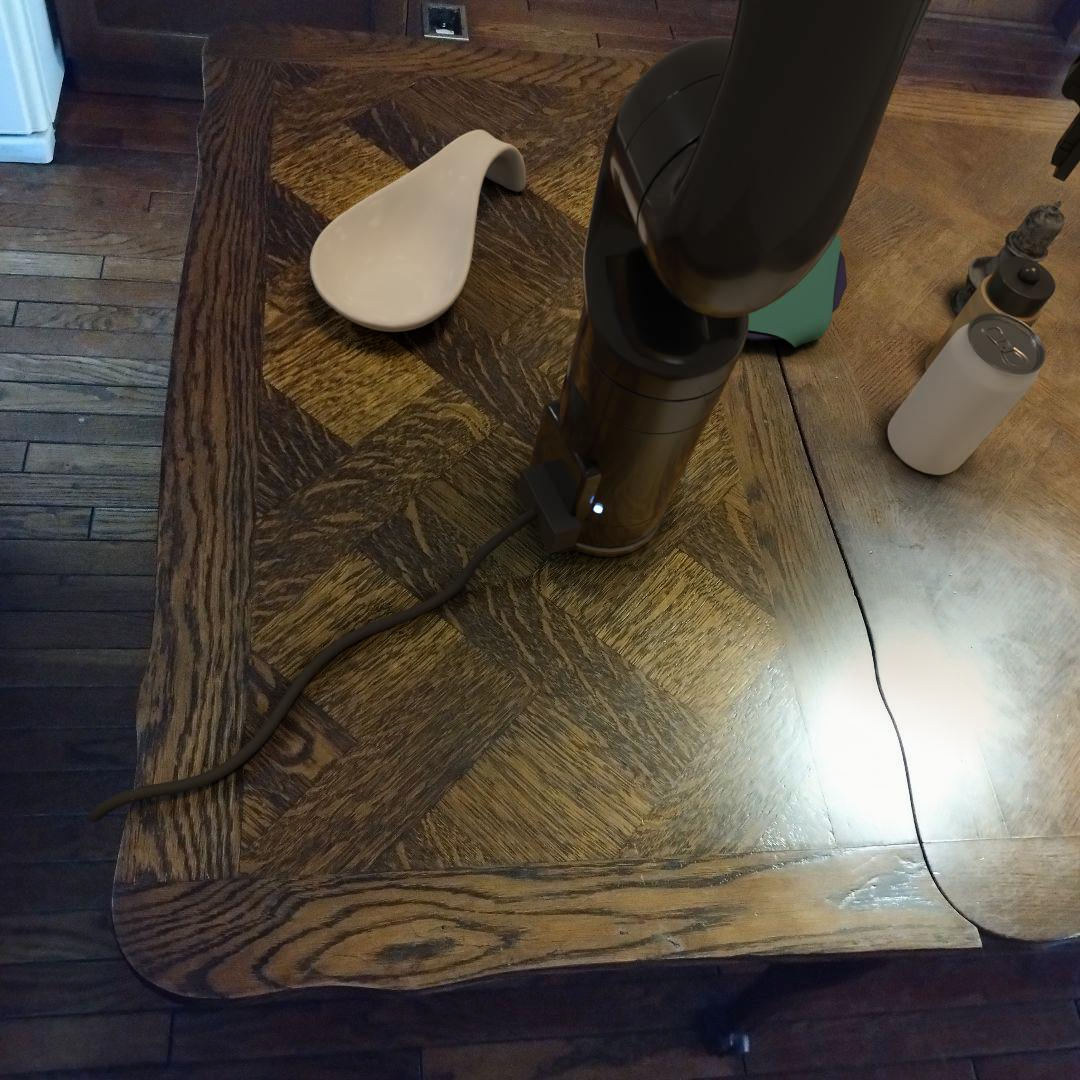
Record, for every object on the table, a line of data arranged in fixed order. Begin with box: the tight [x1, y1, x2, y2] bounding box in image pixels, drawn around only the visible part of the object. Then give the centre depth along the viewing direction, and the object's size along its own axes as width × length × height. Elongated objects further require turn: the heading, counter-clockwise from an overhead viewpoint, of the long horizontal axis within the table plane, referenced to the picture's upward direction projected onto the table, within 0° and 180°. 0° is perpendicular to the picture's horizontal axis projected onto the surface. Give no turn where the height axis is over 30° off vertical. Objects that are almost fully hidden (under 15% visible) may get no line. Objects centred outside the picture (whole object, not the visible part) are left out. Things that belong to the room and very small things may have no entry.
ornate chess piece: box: [950, 200, 1066, 317], centre depth 82 cm, size 6×6×12 cm
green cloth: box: [746, 235, 848, 348], centre depth 87 cm, size 20×30×2 cm, turn 165°
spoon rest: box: [309, 129, 527, 333], centre depth 78 cm, size 24×12×7 cm, turn 152°
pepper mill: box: [924, 257, 1056, 372], centre depth 78 cm, size 5×5×12 cm
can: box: [887, 312, 1046, 476], centre depth 73 cm, size 6×6×12 cm
